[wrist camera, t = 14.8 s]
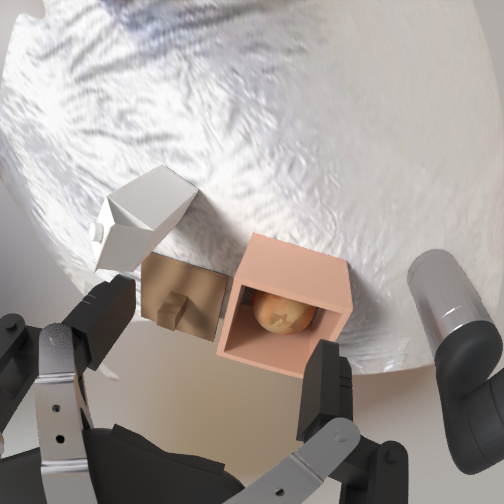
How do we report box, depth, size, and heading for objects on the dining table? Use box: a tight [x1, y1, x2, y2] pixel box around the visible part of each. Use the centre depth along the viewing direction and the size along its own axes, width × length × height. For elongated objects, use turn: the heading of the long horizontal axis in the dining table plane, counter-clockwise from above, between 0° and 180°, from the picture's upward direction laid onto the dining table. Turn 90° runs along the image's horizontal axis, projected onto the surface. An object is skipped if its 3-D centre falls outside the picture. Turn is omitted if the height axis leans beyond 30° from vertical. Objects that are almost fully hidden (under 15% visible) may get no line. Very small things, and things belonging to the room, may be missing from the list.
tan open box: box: [216, 233, 353, 379], centre depth 46 cm, size 15×15×12 cm
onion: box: [252, 289, 316, 335], centre depth 47 cm, size 10×10×10 cm
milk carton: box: [89, 164, 199, 273], centre depth 39 cm, size 7×7×19 cm
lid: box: [141, 252, 228, 342], centre depth 53 cm, size 16×16×7 cm
